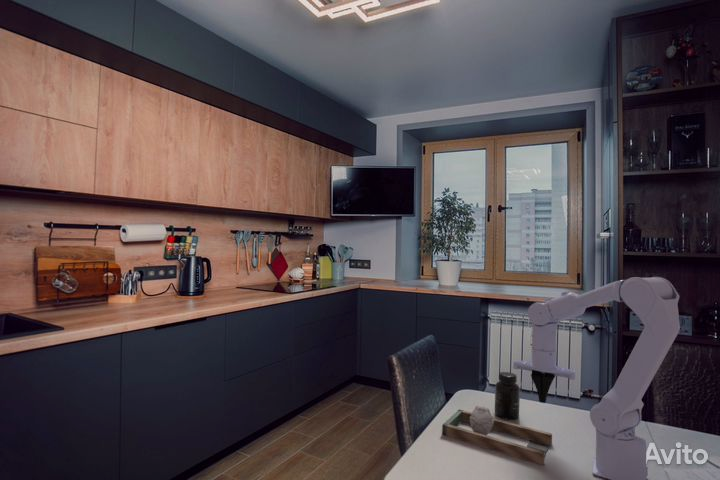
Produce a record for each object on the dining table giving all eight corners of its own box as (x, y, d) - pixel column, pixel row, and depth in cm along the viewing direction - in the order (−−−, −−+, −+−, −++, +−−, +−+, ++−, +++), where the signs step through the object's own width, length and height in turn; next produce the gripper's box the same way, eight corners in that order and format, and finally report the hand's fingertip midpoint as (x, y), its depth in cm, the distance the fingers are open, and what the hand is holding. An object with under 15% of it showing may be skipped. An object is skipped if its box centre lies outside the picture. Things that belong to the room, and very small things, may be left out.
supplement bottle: (521, 421, 112) (522, 379, 113) (496, 418, 114) (497, 376, 114) (516, 411, 119) (517, 371, 119) (493, 409, 120) (494, 369, 121)
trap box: (551, 443, 100) (552, 433, 100) (543, 465, 90) (543, 454, 90) (458, 418, 113) (459, 409, 113) (442, 434, 103) (442, 424, 103)
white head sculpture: (495, 432, 105) (496, 405, 105) (490, 443, 99) (490, 414, 99) (472, 426, 108) (473, 401, 108) (465, 436, 102) (466, 409, 102)
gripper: (577, 350, 103) (576, 403, 102) (518, 341, 111) (516, 390, 110) (574, 356, 97) (572, 412, 96) (511, 346, 105) (510, 398, 105)
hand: (542, 401), depth 103 cm, fingers closed
